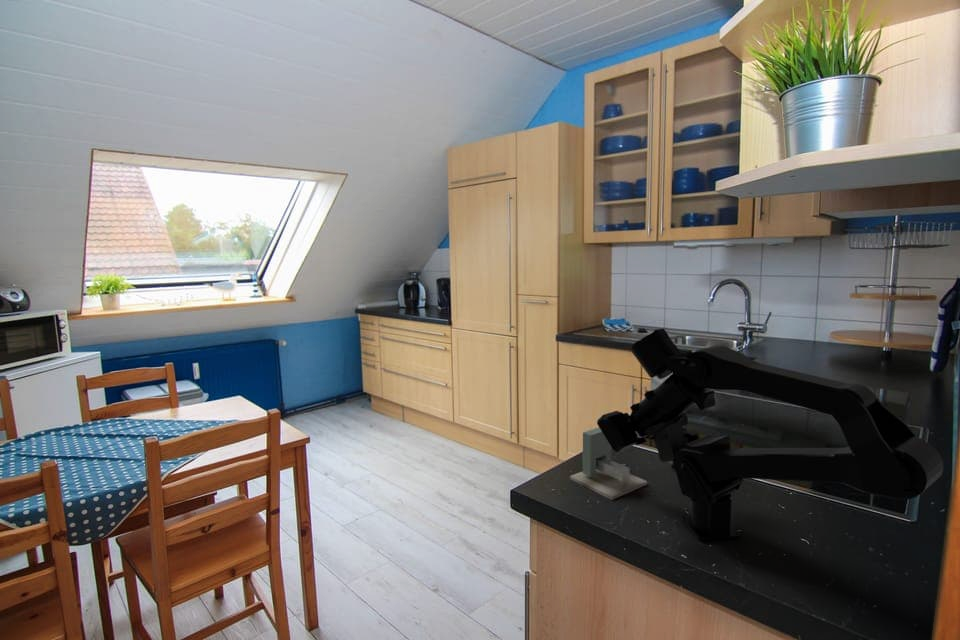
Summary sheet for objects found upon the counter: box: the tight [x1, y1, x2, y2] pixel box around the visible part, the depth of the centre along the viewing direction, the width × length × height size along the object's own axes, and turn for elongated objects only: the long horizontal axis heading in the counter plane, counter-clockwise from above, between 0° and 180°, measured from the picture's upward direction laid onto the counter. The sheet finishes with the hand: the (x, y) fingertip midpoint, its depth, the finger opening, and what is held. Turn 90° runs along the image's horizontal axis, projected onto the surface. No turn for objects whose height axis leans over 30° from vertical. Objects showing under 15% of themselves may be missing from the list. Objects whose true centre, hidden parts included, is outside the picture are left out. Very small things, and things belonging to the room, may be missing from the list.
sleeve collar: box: [582, 427, 613, 477], centre depth 98 cm, size 3×6×8 cm, turn 124°
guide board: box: [569, 470, 648, 501], centre depth 96 cm, size 10×10×1 cm
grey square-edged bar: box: [581, 453, 630, 487], centre depth 96 cm, size 10×2×4 cm, turn 34°
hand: (617, 444), depth 93 cm, fingers closed
